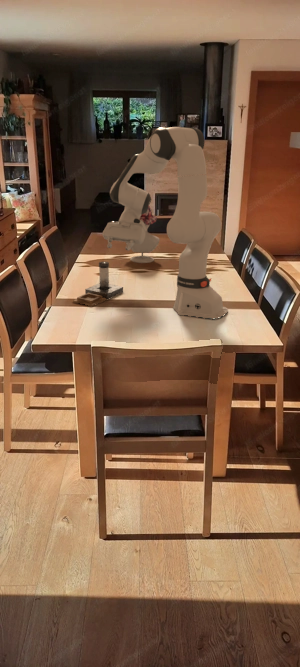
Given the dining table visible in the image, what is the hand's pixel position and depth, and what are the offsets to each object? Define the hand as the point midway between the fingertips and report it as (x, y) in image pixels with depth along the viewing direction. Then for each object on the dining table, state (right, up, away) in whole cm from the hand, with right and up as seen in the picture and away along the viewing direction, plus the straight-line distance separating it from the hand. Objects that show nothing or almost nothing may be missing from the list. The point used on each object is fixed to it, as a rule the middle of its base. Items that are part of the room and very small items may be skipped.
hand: (117, 248), depth 228 cm
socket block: (-6, -20, -3) cm, 22 cm away
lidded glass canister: (-6, -20, -3) cm, 22 cm away
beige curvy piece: (+10, +3, +54) cm, 55 cm away
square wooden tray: (-11, -25, -13) cm, 30 cm away
